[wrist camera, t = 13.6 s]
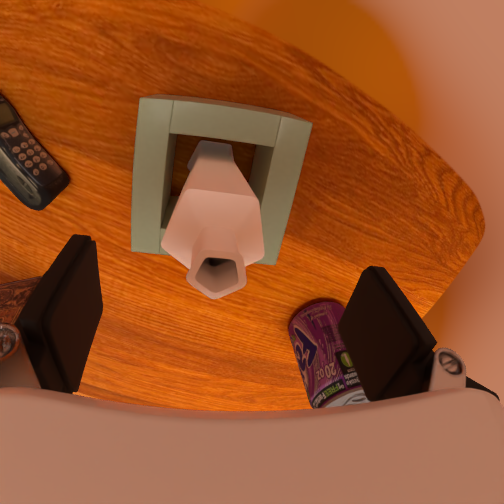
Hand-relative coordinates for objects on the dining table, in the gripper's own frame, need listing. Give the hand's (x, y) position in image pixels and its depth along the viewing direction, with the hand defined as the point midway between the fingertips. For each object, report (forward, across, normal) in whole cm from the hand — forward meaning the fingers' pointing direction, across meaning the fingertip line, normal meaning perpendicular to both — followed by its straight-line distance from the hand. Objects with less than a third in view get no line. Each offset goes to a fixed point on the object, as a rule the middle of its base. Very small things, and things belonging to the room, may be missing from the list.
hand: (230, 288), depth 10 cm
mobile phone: (+16, +19, -2) cm, 24 cm away
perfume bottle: (+16, 0, 0) cm, 16 cm away
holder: (+16, +1, 0) cm, 16 cm away
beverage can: (+16, -13, +16) cm, 26 cm away
